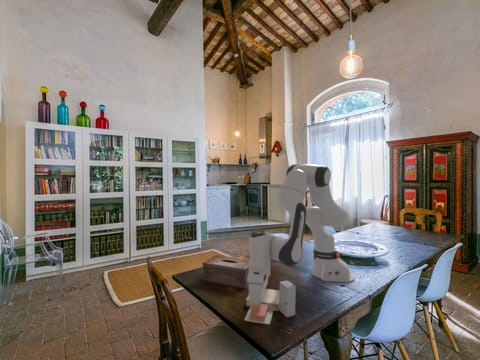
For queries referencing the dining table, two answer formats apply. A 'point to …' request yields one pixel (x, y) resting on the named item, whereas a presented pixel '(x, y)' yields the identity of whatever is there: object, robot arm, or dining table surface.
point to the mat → (267, 320)
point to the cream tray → (268, 299)
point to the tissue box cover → (226, 270)
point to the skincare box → (287, 298)
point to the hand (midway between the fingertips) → (259, 303)
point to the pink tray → (259, 312)
